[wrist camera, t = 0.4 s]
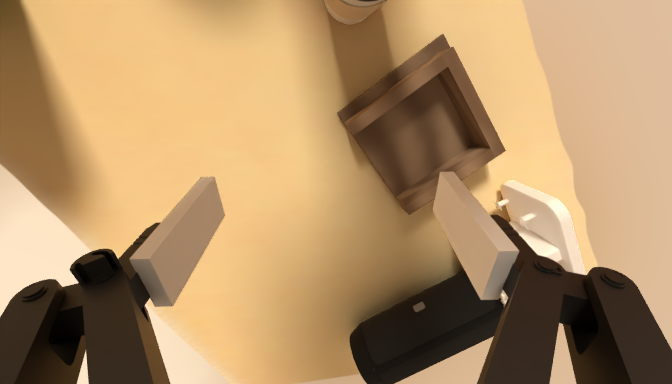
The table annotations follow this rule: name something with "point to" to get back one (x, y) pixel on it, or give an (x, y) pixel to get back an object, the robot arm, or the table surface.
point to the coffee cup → (352, 9)
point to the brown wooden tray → (423, 125)
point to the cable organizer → (542, 225)
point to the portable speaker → (423, 331)
